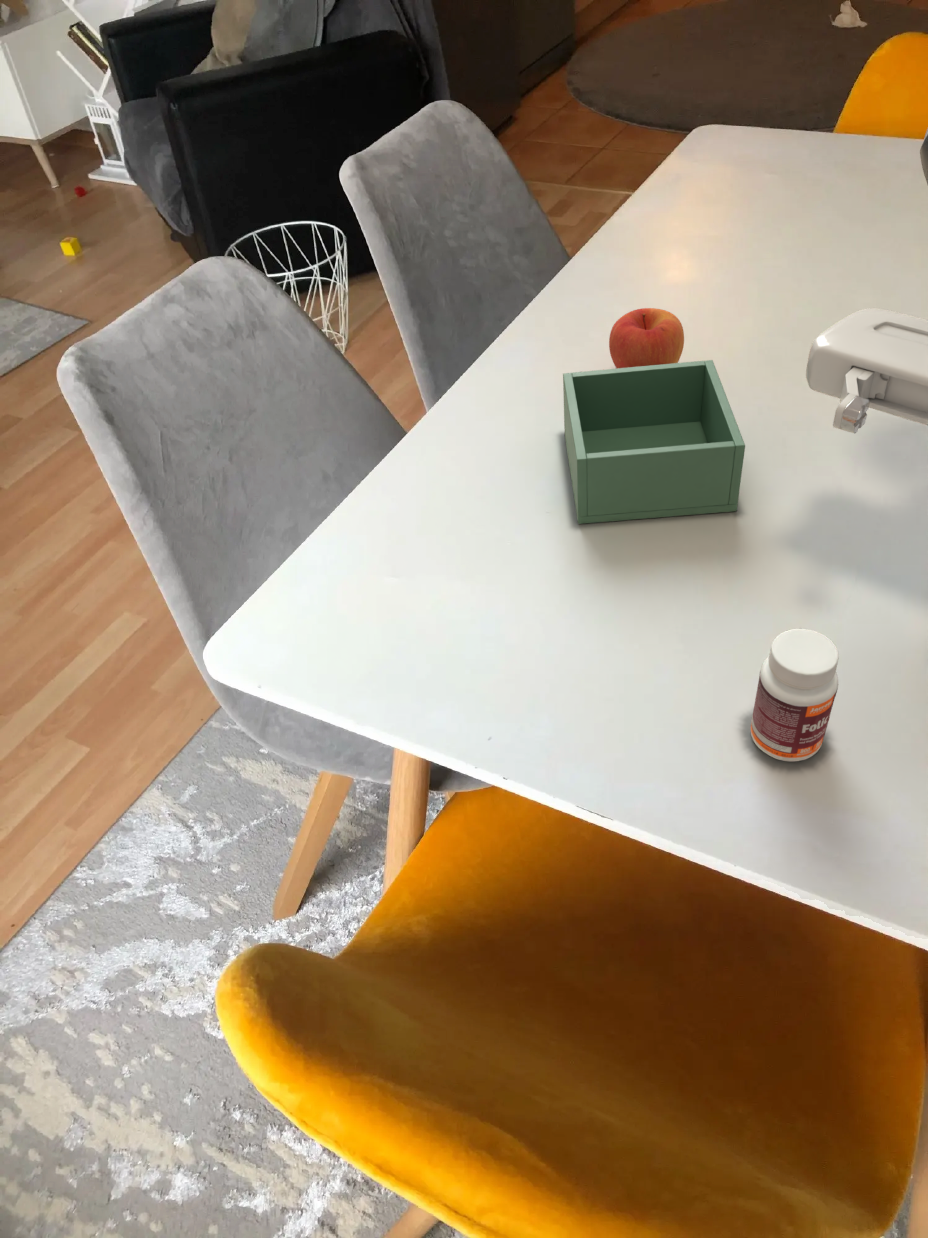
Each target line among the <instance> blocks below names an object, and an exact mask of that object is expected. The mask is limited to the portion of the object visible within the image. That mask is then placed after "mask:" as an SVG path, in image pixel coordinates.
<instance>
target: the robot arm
mask: <svg viewBox="0 0 928 1238" xmlns="http://www.w3.org/2000/svg"><path fill="white" fill-rule="evenodd" d="M919 156H920V157H919V158H920V163H921V169H922V172H923V175H924V179H925V181H926V184H927V185H928V128H927V129H926V131H925V135H924V138H923V142H922V144H921V146H920V150H919ZM805 379H806V382H807V385H808V387H809V388H810V390H812V391H815V392H816V393H819V394H823V395H827V396H830V397H833V398H837V399H839V403H838V405H837V407H836V410H835V413H834V416H833V417H834V418H833V422H832V427H833V428H835V429H838V430H842V431H845V432H848V433H851V434H857V433H858V431H859V429H862V428H863V426H864V425H865V424H866V421H867V416H868V414H867V412H868V410H869V409H872V410H876V411H879V412H882V413H885V414H888V415H892V416H895V417H899V418H901V419H905V420H909V421H912V422H915V423H918V424H922V425H925V426H928V319H926V318H922V317H919V316H916V315H915V316H914V315H910V314H906V313H902V312H898V311H895V310H890V309H885V308H880V307H879V308H877V307H873V308H872V307H869V308H863V309H859V310H857V311H854V312H852V313H850V314H848V315H846V316H845V317H843V318H841V319H840V320H838V321H837V322H835V323H833V324H832V325H831V326H829V327H828V328H826V329H825V330H824V331H822V332H821V333H819V334H818V335H817V336H816V337H815V338H814V339H813V340H812V343H811V345H810V349H809V352H808V357H807V360H806V368H805Z"/></svg>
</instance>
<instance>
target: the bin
mask: <svg viewBox="0 0 928 1238" xmlns="http://www.w3.org/2000/svg"><path fill="white" fill-rule="evenodd" d="M562 384H563V385H562V386H563V387H562V388H563V391H562V392H563V420H564V421H563V422H564V423H563V425H564V440H565V447H566V454H567V461H568V467H569V472H570V479H571V487H572V493H573V494H572V495H573V498H574V505H575V506H574V507H575V513H576V514H575V515H576V519H577V524H578V525H582V524H595V523H606V522H619V521H631V520H632V521H634V520H643V519H644V520H645V519H657V518H667V517H668V518H669V517H679V516H681V517H682V516H693V515H704V514H705V515H706V514H718V513H729V512H730V513H731V512H737V511H738V503H739V497H740V490H741V481H742V473H743V466H744V459H745V458H744V457H745V451H746V450H745V449H746V444H745V441H744V439H743V436H742V433H741V430H740V427H739V425H738V423H737V421H736V420H737V419H736V418H735V415H734V411H733V409H732V407H731V405H730V401H729V399H728V397H727V394H726V392H725V389H724V387H723V383H722V381H721V378H720V376H719V373H718V371H717V368H716V365H715V363H714V360H713V359H707V360H696V361H684V362H678V363H672V364H661V365H650V366H639V367H628V368H608V369H596V370H586V371H575V372H564V373H562Z"/></svg>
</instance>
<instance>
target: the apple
mask: <svg viewBox="0 0 928 1238" xmlns="http://www.w3.org/2000/svg"><path fill="white" fill-rule="evenodd" d="M608 339H609V340H608V348H609V349H608V350H609V353H610V354H609V355H610V357H611V360H612V362H613V365H614V367H615V369H617V368H628V367H639V366H650V365H661V364H672V363H679V361H680V359H681V357H682V354H683V350H684V347H685V331H684V327H683V324H682V322H681V320H680V319H679V318H678V316H676V315H675V314H674V313H672V312H670V311H668V310H665V309H661V308H655V307H644V308H643V307H642V308H637V309H633V310H631V311H629V312H627V313H625V314H623V315H622V316H620V318H618V319H617V320H616V321H615V322H614V324H613V326H612V328H611V330H610V333H609V338H608Z"/></svg>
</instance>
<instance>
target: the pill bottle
mask: <svg viewBox="0 0 928 1238" xmlns="http://www.w3.org/2000/svg"><path fill="white" fill-rule="evenodd" d="M839 655H840V654H839V650H838V648H837V645H836V644H835V643H834V642H833V641H832V640H831V638H829V637H828V636H826V635H825V634H823V633H821V632H819V631H816V630H813V629H807V628H792V629H789V630H785V631H783V632H781V633H779V634H778V635H777V636H776V637H775V638H774V639H773V640H772V642H771V647H770V651H769V653H768V656H767V657H766V658H765V659H764V661H763V663H762V665H761V668H760V670H759V675H758V683H757V689H756V694H755V700H754V706H753V710H752V716H751V721H750V729H749V730H750V736H751V739H752V741H753V742H754V743H755V745H756V747H758V749H759V750H761V751H762V752H763V753H764V754H766V755H768V756H770V757H771V758H774V759H776V760H778V761H783V762H800V761H805V760H807V759H809V758H812V757H813V756H814V755H816V753H818V752H819V751H820V749H821V747H822V745H823V742H824V738H825V735H826V731H827V728H828V724H829V721H830V717H831V714H832V710H833V706H834V702H835V699H836V696H837V693H838V690H839V676H838V672H837V670H838V669H837V668H838V663H839V659H840V656H839Z"/></svg>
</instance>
